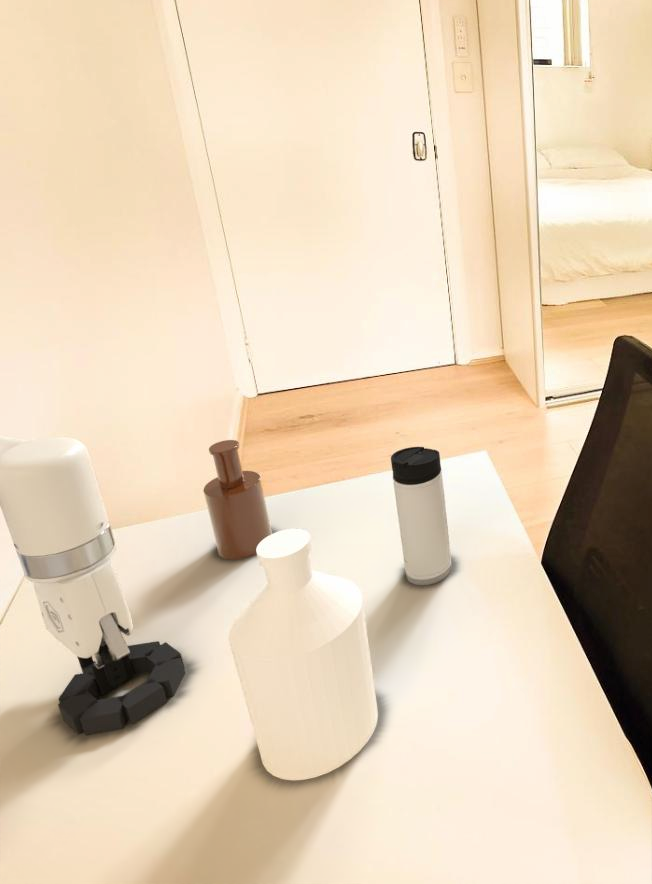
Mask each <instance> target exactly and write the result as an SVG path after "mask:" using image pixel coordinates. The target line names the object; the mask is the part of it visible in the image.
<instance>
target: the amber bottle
mask: <svg viewBox="0 0 652 884" xmlns="http://www.w3.org/2000/svg"><path fill="white" fill-rule="evenodd" d="M239 449H240V442H239V441H238V440H235V439H226V440H221V441H218V442H215V443H213V444H211V445H210V446H209V447H208V452H209V454H210V455H211V456H212V458H213V462H214V466H215V471H216V475H217V477H214V478H213V479H211V480H210V481H209V482H208V483H206V484H205V485H204V486H203V496H204V499H205V504H206V508H207V512H208V516H209V520H210V524H211V529H212V533H213V537H214V540H215V544H216V545H215V546H216V548H217V553H218V556H219V557H221V558H222V559H225V560H232V561H233V560H243V559H247V558H250V557H253V556H255V555H257V552H256V548H257V546H258V544H259V543H260V542H261V541H262V540H263V539H265V538H266V537H268V536H269V535H271V534H273V531H272V526H271V521H270V515H269V511H268V506H267V502H266V498H265V493H264V487H263V484H262V478H261V475H260V474H259V473H258V472H256V471H253V470H243V468H242V467H243V466H242V463H241V458H240V453H239Z"/></svg>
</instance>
